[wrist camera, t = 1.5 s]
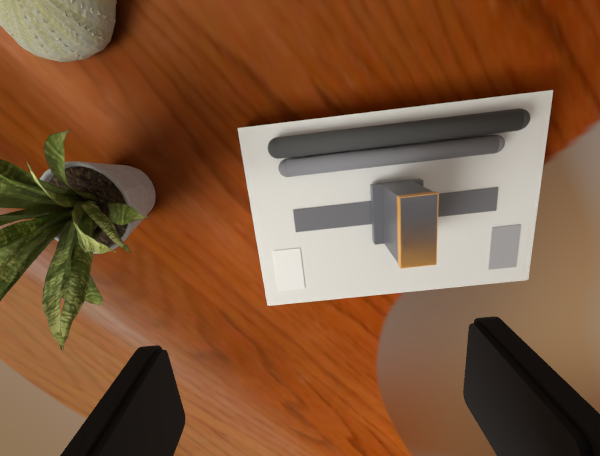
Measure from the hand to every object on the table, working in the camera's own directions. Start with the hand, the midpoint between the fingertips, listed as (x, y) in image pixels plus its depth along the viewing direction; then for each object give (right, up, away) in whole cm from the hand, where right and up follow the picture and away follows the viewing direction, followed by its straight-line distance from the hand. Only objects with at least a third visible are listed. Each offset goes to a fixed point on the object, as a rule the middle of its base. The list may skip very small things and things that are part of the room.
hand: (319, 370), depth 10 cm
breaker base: (+7, +7, +19) cm, 22 cm away
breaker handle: (+7, +6, +16) cm, 19 cm away
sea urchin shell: (-19, +22, +15) cm, 33 cm away
